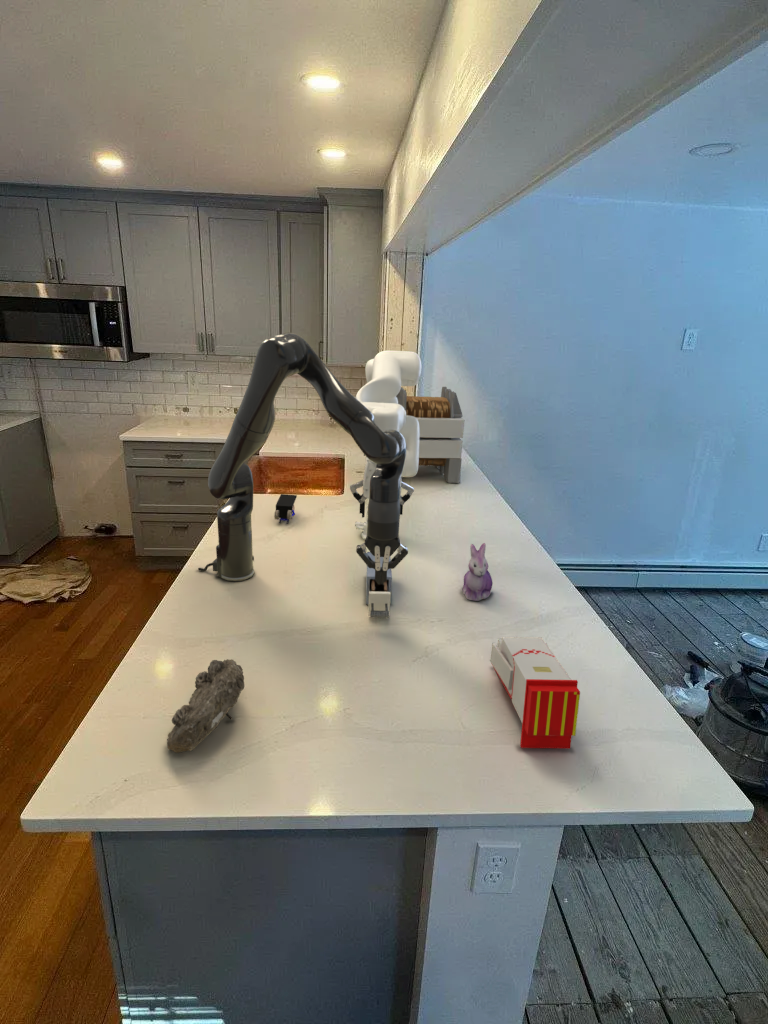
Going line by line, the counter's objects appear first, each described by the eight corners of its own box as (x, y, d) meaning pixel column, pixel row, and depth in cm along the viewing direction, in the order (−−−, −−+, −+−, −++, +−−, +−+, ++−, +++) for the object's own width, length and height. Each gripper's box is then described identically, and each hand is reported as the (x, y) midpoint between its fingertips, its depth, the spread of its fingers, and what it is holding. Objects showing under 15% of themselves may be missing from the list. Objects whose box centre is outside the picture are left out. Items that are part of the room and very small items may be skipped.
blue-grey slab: (390, 605, 152) (392, 577, 149) (365, 604, 152) (366, 576, 149) (388, 578, 167) (390, 552, 164) (366, 577, 167) (367, 551, 164)
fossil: (192, 660, 117) (244, 628, 112) (224, 691, 120) (276, 661, 115) (142, 746, 98) (202, 712, 93) (182, 779, 101) (242, 748, 96)
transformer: (382, 463, 289) (386, 382, 275) (445, 464, 293) (451, 384, 279) (390, 482, 257) (394, 392, 243) (460, 483, 261) (468, 394, 247)
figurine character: (292, 529, 203) (297, 511, 216) (292, 510, 199) (297, 492, 213) (273, 529, 202) (280, 510, 216) (272, 510, 199) (279, 492, 213)
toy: (539, 620, 128) (589, 687, 99) (533, 674, 131) (581, 755, 102) (485, 619, 128) (521, 686, 99) (481, 673, 131) (514, 755, 101)
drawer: (390, 628, 139) (391, 605, 137) (368, 628, 139) (368, 604, 137) (387, 589, 158) (388, 568, 156) (368, 588, 158) (369, 567, 156)
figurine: (473, 605, 153) (479, 554, 148) (452, 588, 162) (457, 540, 157) (501, 598, 157) (507, 549, 152) (479, 583, 166) (484, 535, 161)
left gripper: (354, 521, 129) (353, 589, 134) (412, 523, 129) (408, 590, 135) (355, 509, 136) (353, 575, 142) (410, 511, 136) (406, 576, 142)
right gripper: (350, 458, 146) (348, 520, 152) (417, 460, 146) (413, 522, 152) (351, 451, 153) (349, 510, 159) (415, 453, 153) (411, 512, 159)
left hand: (380, 582), depth 138 cm, fingers closed
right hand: (380, 516), depth 155 cm, fingers open, 9 cm apart
